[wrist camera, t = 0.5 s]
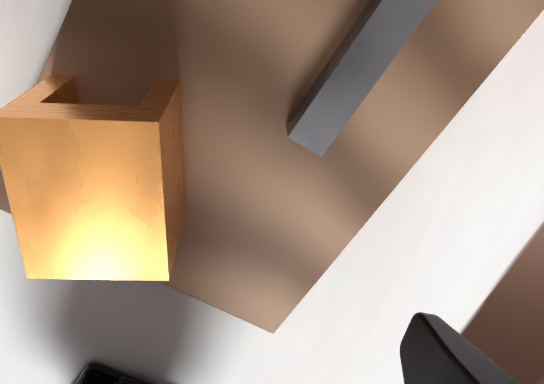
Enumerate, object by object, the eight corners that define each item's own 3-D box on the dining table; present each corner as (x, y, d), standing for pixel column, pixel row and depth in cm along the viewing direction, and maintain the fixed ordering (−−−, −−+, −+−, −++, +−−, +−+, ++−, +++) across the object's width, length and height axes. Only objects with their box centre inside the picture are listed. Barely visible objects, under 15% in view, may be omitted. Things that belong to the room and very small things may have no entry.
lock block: (186, 211, 22) (169, 280, 18) (73, 209, 22) (26, 278, 17) (180, 79, 19) (158, 122, 15) (51, 75, 19) (-11, 116, 14)
